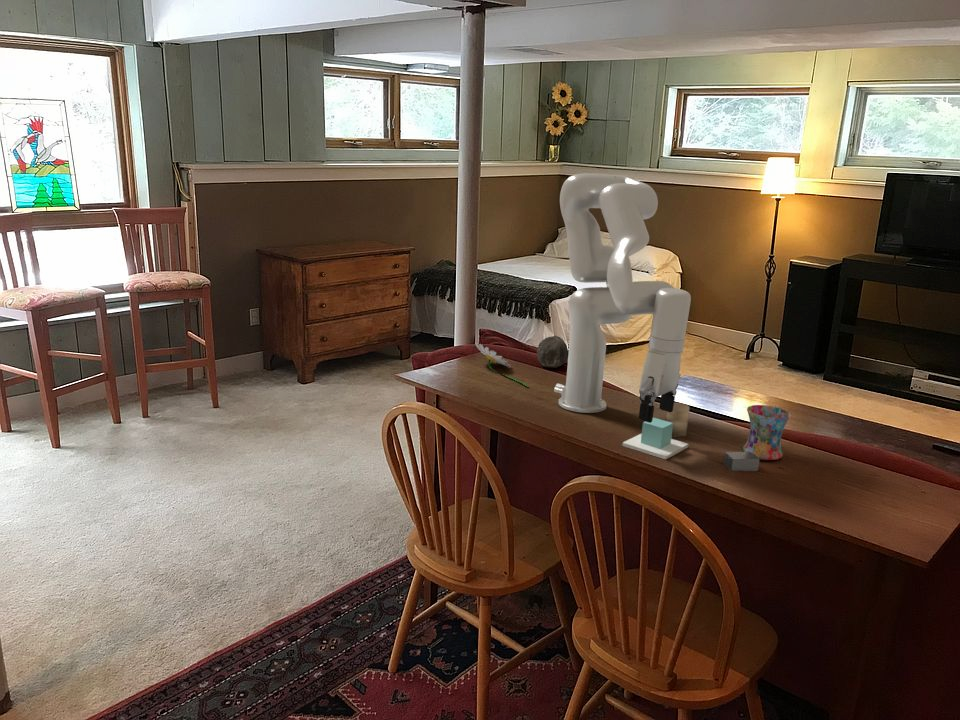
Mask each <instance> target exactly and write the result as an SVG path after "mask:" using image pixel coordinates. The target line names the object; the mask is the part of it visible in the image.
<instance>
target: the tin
mask: <svg viewBox="0 0 960 720" xmlns="http://www.w3.org/2000/svg"><path fill="white" fill-rule="evenodd" d="M722 463H723V465H724V466H725V467H726V468H727V469H729V470H730V471H731V472H758V471H759V465H760V459H759V458H758V457H756V456H755V455H754V454H753V453H751V452H744V451H725V452H724V458H723V462H722Z"/></svg>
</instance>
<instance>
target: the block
mask: <svg viewBox="0 0 960 720" xmlns="http://www.w3.org/2000/svg"><path fill="white" fill-rule="evenodd" d="M641 429H642V430H641V434H642V435H641V443H643V444H646V445H649V446H652V447H655V448H659V449H661V448H663V447H665V446H667V445H669V444H671V439H672V438H673V436H672V429H673V423H671V422H667V421H666V420H662V419H660V418H657V417H653V420H652V422H651V423H649V422H646V421H643V422H642V427H641Z"/></svg>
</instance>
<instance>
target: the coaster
mask: <svg viewBox="0 0 960 720" xmlns="http://www.w3.org/2000/svg"><path fill="white" fill-rule="evenodd" d="M641 435H642V433H639V434H637V435H635V436H633V437H631V438H629V439H627V440H624V441H623V442H622V444H621V446H622V447H624V448H628V449H630V450H631V449H632V450H634V451H637V452H640V453H644V454H647V455H650V456H654V457H657V458H660V459H663V460H667V459H669V458H671V457H673V456H675V455H677V454H678V453H680V452H682V451H684V450H686V449H688V448H689V443H687V442H683V441H681V440H677V439H673V438H671V444H669V445H667V446H665V447H663V448H661V449H659V448H655V447H652V446H649V445H646V444H643V443H641Z"/></svg>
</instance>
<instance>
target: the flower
mask: <svg viewBox="0 0 960 720" xmlns="http://www.w3.org/2000/svg"><path fill="white" fill-rule="evenodd" d="M474 345H475V346H476V348H477V349H478V350H479V351H480V352H481V354H483V355H484V356H485V357H486V358H487V359H488V361H487V363H488V364H487V365H488V367H489V369H490V370H491V369H492V370H494V371H496V370H495V369H493V368H492V366H491V362H495V363H497V364H500V365H502V366H505V367H508V366H509V367H510V364H509V360H508V359H505V358H503V356H502V355H498V354H497V351H495V350H493V349H492V350H490V349H489V347H488V346H485V347H484V345H483V344H481V343H478V342H477V343H476V344H474ZM492 370H491V371H492ZM504 375H505V376H507V377H509V378H511V379H513V380H512V381H514V380H515V381H514V382H516V381H517V382H516V383H518V382H520V383H522V384H523V385H525V386H527V387H529V386H528V385H527V384H526V383H524V382H522V381H520V380H518V379H516V378H513V377H511V376H508V375H506V374H504ZM509 378H508V379H509ZM511 379H510V380H511ZM520 383H519V384H520ZM522 384H521V385H522ZM523 385H522V386H523ZM525 386H524V387H525Z"/></svg>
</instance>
